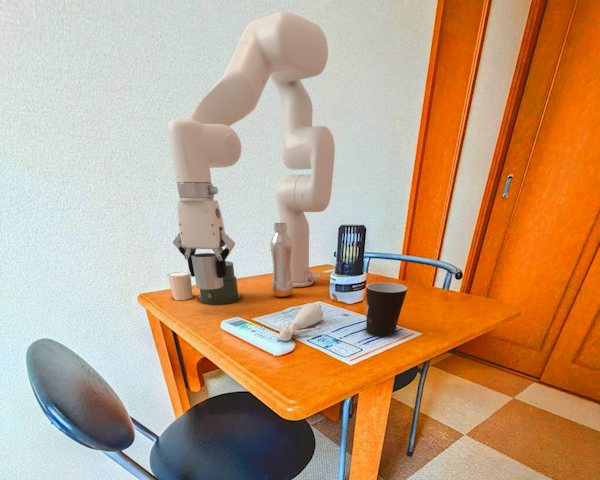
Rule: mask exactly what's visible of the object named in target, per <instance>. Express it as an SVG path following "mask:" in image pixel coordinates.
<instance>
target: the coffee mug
mask: <svg viewBox="0 0 600 480" xmlns="http://www.w3.org/2000/svg"><path fill="white" fill-rule="evenodd" d="M365 289H366V290H365V291H366V292H365V294H366V297H365V298H366V299H365V300H366V301H365V303H366V304H365V306H366V308H365V309H366V311H365V313H366V316H365V317H366V318H365V319H366V321H365V322H366V323H365V326H366V328H365V330H366V331H365V332H367V334H369V335H370V336H374V337H379V338H381V337H383V338H385V337H391V336H394V334H395V332H396V330H397V325H398V322H399V318H400V316H401V312H402V308H403V306H404V302H405V298H406V295H407V291H408V287H407V286H406V285H403V284H400V283H395V282H387V281H386V282H385V281H384V282H383V281H382V282H381V281H380V282H371V283H368V284H366V288H365Z"/></svg>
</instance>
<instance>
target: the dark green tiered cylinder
mask: <svg viewBox="0 0 600 480" xmlns="http://www.w3.org/2000/svg"><path fill="white" fill-rule="evenodd" d="M225 262H226V271H227V272H226V276H225V277H223V287H221V288H218V289H208V290H206V289H199V296H198V298H199V302H200V303H202V304H204V305H205V304H206V305H213V306H214V305H216V306H217V305H218V306H219V305H228V304H232V303H236V302H238V301H239V300H240V299H241V293H240V292H239V290H238V289H239V287H238V278H237V276H236V275H235V268H234V263H233V261H230V260H229V261H228V260H225Z"/></svg>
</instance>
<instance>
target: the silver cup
mask: <svg viewBox="0 0 600 480" xmlns="http://www.w3.org/2000/svg"><path fill="white" fill-rule="evenodd" d="M191 258H192V264H193V269H194V275H195V276H194V279H195V286H196V288H197V289H199V290H200V289H206V290H208V289H218V288H221V287H223V278H219V277H218V272H217V265H216V261H218V259H217V257H216V255H215V253H214V252H202V253H201V252H200V253H195V254H194V255H191Z"/></svg>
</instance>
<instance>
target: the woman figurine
mask: <svg viewBox="0 0 600 480" xmlns="http://www.w3.org/2000/svg"><path fill="white" fill-rule="evenodd" d="M323 318H324V312H323V309H322V305H321V304H319V305H318V304H316V303H313V302H312V303H311V302H310V303H308V302H307V303H305V304H303V305H302V306H301V308H300V309H299V311H298V313H297V314H296V316H295V317H294V319H292V322H291V321H288V323H287V324H286V326H285V325H284V324H283V322H282V319H281V318H278V319H277V322H278V324H279V325H280V327H281V328H282V329H281V330H280V331H279V334H278V338H279V340H281V341H283V342H288V341H290V340H292V337H293V336H297V335H299V334H301V333H306V332H312V331H320V330H322V329H323V326H320V325H316V327H311V326H314V325H315V324H317V323H319V322H321V321H322V320H323ZM308 327H311V328H308ZM280 337H281V338H280ZM284 338H286V339H284Z"/></svg>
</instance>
